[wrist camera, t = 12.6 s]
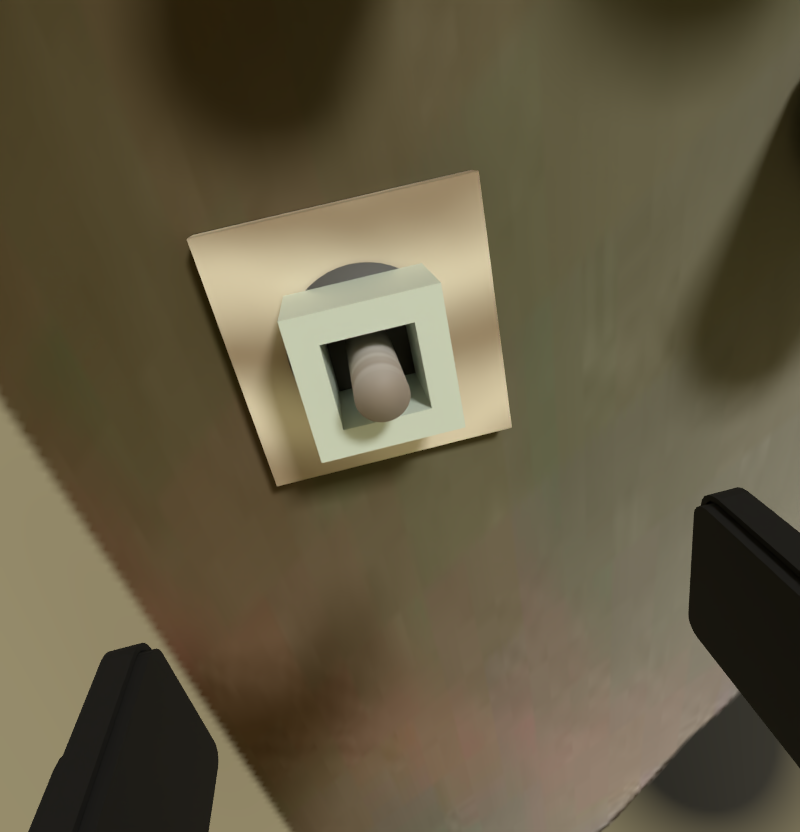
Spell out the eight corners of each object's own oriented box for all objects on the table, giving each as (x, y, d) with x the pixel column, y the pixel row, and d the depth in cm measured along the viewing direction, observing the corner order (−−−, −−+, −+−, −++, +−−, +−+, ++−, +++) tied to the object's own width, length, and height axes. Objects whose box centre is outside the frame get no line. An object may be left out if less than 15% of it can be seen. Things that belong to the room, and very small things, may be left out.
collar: (283, 296, 23) (277, 321, 20) (421, 263, 24) (440, 282, 20) (320, 420, 26) (321, 463, 22) (445, 389, 26) (465, 427, 23)
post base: (192, 235, 23) (145, 267, 17) (471, 170, 24) (530, 176, 17) (278, 473, 28) (267, 567, 22) (504, 417, 29) (559, 493, 22)
